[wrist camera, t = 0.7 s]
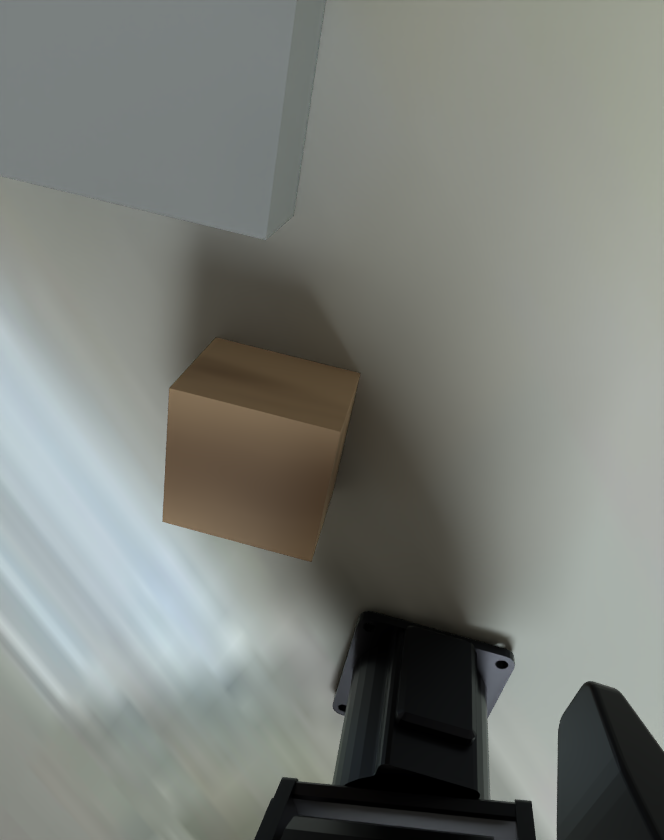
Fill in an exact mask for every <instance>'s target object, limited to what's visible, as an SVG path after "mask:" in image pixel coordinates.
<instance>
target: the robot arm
mask: <svg viewBox="0 0 664 840" xmlns="http://www.w3.org/2000/svg"><path fill="white" fill-rule="evenodd" d="M368 623H371V624H373V625H371V624H368ZM500 660H503V661H500ZM514 666H515V662H514V655H513V653H512V652H511V651H509V650H507V649H505V648H501V647H497V646H494V645H490V644H487V643H483V642H479V641H476V640H472V639H469V638H465V637H461V636H458V635H454V634H451V633H447V632H444V631H440V630H436V629H433V628H429V627H426V626H422V625H418V624H415V623H411V622H408V621H404V620H400V619H397V618H393V617H390V616H386V615H382V614H379V613H375V612H370V611H367V612H363V613H362V614H360V616H359V618H358V621H357V625H356V628H355V631H354V634H353V638H352V641H351V644H350V648H349V651H348V654H347V657H346V661H345V664H344V667H343V671H342V674H341V677H340V680H339V684H338V687H337V690H336V694H335V697H334V702H333V709H334V711H336V712H337V713H339V714H341V715H344V716H345V718H344V723H343V729H342V734H341V740H340V745H339V750H338V756H337V761H336V767H335V772H334V778H333V783H332V785H330V784H320V783H310V782H299V781H298V779H297V778H287V777H283V778H282V779H281V782H280V784H279V786H278V789H277V791H276V793H275V796H274V798H272V799H271V801H270V804H269V806H268V808H267V811H266V813H265V815H264V818H263V820H262V822H261V825H260V827H259V830H258V832H257V834H256V837H255V839H254V840H536V836H535V828H534V819H533V811H532V802H531V801H527V800H516V799H515V802H505V801H495V800H490V779H489V751H488V723H487V718H488V716H489V715H490V713H491V711H492V709H493V707H494V705H495V703H496V701H497V699H498V698H499V696H500V694H501V692H502V690H503V688H504V686H505V684H506V682H507V681H508V679H509V677H510V675H511V673H512V671H513V669H514ZM557 840H664V751H663V750H662V748H661V747H660V746H659V744H658V743H657V741H656V740H655V739H654V737H653V736H652V735H651V733H650V732H649V730H648V729H647V728H646V726H645V725H644V723H643V722H642V721H641V719H640V718H639V717H638V715H637V714H636V712H635V711H634V710H633V708H632V707H631V706H630V704H629V703H628V701H627V700H626V699H625V697H624V696H623V695H622V694H621V693H620V692H619V691H618V690H617V689H615V688H612V687H609V686H606V685H603V684H599V683H596V682H593V681H588V682H586V683H584V684H583V685H582V687H581V688H580V690H579V691H578V693H577V694H576V696H575V697H574V699H573V700H572V702H571V703H570V705H569V706H568V708H567V709H566V711H565V712H564V714H563V715H562V717H561V720H560V724H559V729H558V777H557Z"/></svg>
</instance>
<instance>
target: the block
mask: <svg viewBox="0 0 664 840" xmlns="http://www.w3.org/2000/svg"><path fill="white" fill-rule="evenodd" d="M359 377H360V373H357V372H353V371H349V370H345V369H341V368H337V367H333V366H329V365H325V364H321V363H317V362H313V361H309V360H305V359H301V358H297V357H293V356H289V355H285V354H281V353H277V352H273V351H269V350H265V349H261V348H257V347H253V346H249V345H245V344H241V343H237V342H233V341H229V340H225V339H221V338H217V337H216V338H215V339H214V340H213V341H212V342H211V343H210V344H209V345H208V347H207V348H206V349H205V350H204V351H203V352H202V353H201V354H200V355H199V356H198V357H197V359H196V360H195V361H194V362H193V363H192V364H191V365H190V366H189V367H188V368H187V369H186V370H185V372H184V373H183V374H182V375H181V376H180V377H179V378H178V379H177V380H176V381H175V382H174V383H173V385H172V386H171V387H170V388H169V403H168V423H167V443H166V463H165V482H164V502H163V522H166V523H169V524H173V525H177V526H180V527H184V528H188V529H191V530H195V531H199V532H203V533H206V534H210V535H214V536H217V537H221V538H225V539H228V540H232V541H236V542H239V543H243V544H247V545H251V546H254V547H258V548H262V549H265V550H269V551H273V552H276V553H280V554H284V555H287V556H291V557H295V558H298V559H302V560H306V561H310V562H312V559H313V555H314V552H315V549H316V546H317V542H318V539H319V536H320V533H321V529H322V526H323V523H324V520H325V516H326V513H327V510H328V507H329V503H330V500H331V497H332V494H333V490H334V486H335V481H336V477H337V473H338V468H339V464H340V460H341V455H342V451H343V447H344V442H345V438H346V434H347V429H348V425H349V421H350V416H351V412H352V408H353V403H354V399H355V395H356V390H357V386H358V382H359Z"/></svg>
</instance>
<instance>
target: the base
mask: <svg viewBox="0 0 664 840" xmlns="http://www.w3.org/2000/svg"><path fill="white" fill-rule="evenodd" d="M325 2H326V0H0V176H2V177H6V178H10V179H14V180H19V181H23V182H27V183H31V184H35V185H39V186H43V187H48V188H52V189H56V190H60V191H64V192H68V193H72V194H77V195H81V196H85V197H89V198H93V199H97V200H101V201H106V202H110V203H114V204H118V205H122V206H126V207H131V208H135V209H139V210H143V211H147V212H151V213H155V214H160V215H164V216H168V217H172V218H176V219H180V220H184V221H189V222H193V223H197V224H201V225H205V226H209V227H213V228H218V229H222V230H226V231H230V232H234V233H238V234H242V235H247V236H251V237H255V238H259V239H263V240H266V239H268V238H269V237H270V236H271V235H272V234H273V233H274V232H276V231H277V230H278V229H279V228H280V227H281V226H283V225H284V224H285V223H286V222H287V221H288V220H289V219H291V218H292V217H293V216H294V209H295V203H296V196H297V189H298V182H299V176H300V169H301V162H302V156H303V149H304V142H305V136H306V129H307V122H308V116H309V109H310V102H311V96H312V89H313V82H314V75H315V69H316V62H317V55H318V49H319V42H320V35H321V29H322V22H323V15H324V9H325Z"/></svg>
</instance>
